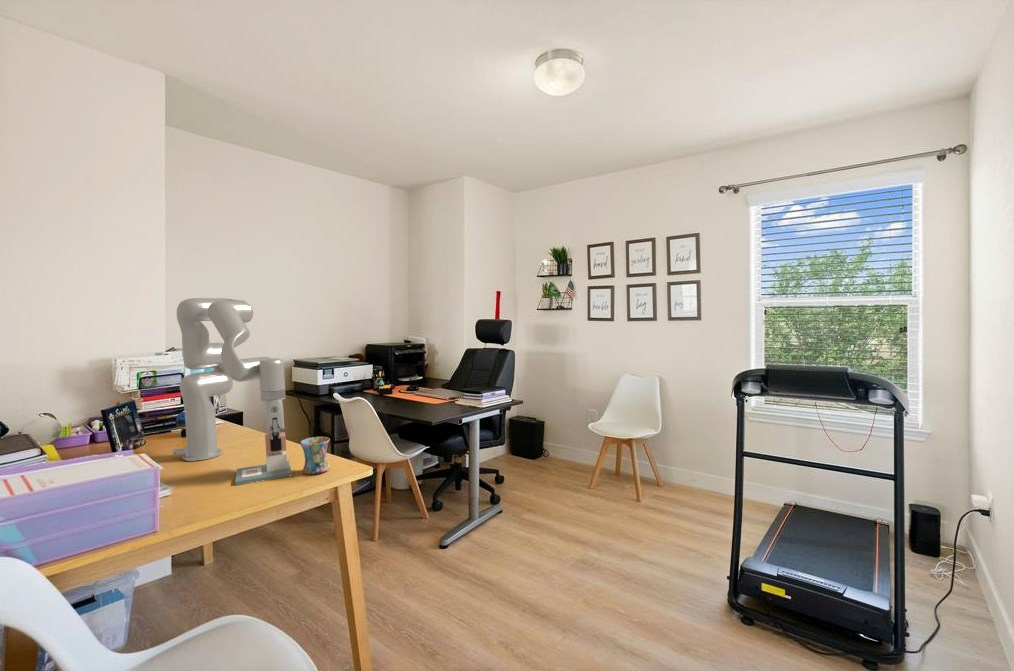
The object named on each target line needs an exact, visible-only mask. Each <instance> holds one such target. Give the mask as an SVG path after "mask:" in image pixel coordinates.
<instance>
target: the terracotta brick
mask: <svg viewBox="0 0 1014 671" xmlns="http://www.w3.org/2000/svg"><path fill="white" fill-rule="evenodd" d="M280 438H281V447H282V449H281V450H279V451H271V444H270V439H271V434H270V433H266V434H264V439H265V455H266V454H267V453H274V452H280V451H286V452H287V437H286V433H285V431H282V432H281V431H280Z"/></svg>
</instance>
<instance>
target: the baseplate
mask: <svg viewBox="0 0 1014 671" xmlns="http://www.w3.org/2000/svg"><path fill="white" fill-rule="evenodd" d="M265 455H266V456H265V458H266V461H265V462H266V464H260V465H259V464H258V465H252V466H246V467H241V468H236V473H235V486H240V484H242V485H246V484H245V483H248V484H251V483H250V482H254V483H257V482H256V481H259V482H263V481H262V480H265V481H269V480H268V479H271V480H275V479H274V478H277V479H281V478H280V477H283V478H286V477H285V476H289V477H291V476H290V475H292V474H293V472H292V469H291V464H290V461H289V460H288V458H287V450H286V451H280V452H274V453H267V454H266V453H265Z"/></svg>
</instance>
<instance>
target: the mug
mask: <svg viewBox="0 0 1014 671" xmlns="http://www.w3.org/2000/svg"><path fill="white" fill-rule="evenodd" d="M330 441H331V439H330V437H327V436H314V437H308V438H305V439H302V440H300V442H299V444H300V446H301V448H302V450H303V454H304V466H303V469H302V472H303V473H304V474H307V475H317V474H322V473H325V472H326V471H329V470H330V468H331V467H330V466H331V465H329V464H330V463H329V462H328V459H327V453H328V452H327V451H328V446H329V443H330Z"/></svg>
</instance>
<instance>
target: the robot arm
mask: <svg viewBox="0 0 1014 671" xmlns="http://www.w3.org/2000/svg"><path fill="white" fill-rule="evenodd" d="M253 317H254V310H253V307H252V306H251V304H250V303H249V302H247V301H245V300H243V299H242V300H240V299H235V298H234V299H232V298H226V297H225V298H224V297H223V298H222V297H219V298H214V297H212V298H211V297H193V298H187V299H184V300H182V301H180V302H179V303H178V304H177V308H176V319H177V324H178V326H179V328H180V332H181V345H182V360H183V364H184V366H185V368H186V369H189V370H194V371H195V370H206V369H213V370H212V371H203V372H195V373H194V372H193V373H191V374H187V375H186V376H184V377H182V378H181V380H180V382H179V390H180V394H181V397H182V401H183V408H184V420H185V438H186V446H183V447H182V448H173V449H172V455H176V456H178V455H182V460H183V461H185V460H186V461H185V462H197V461H198V460H199V461H204V460H210V459H213V458H216V457H219V456H220V455H222V454H223V450H222V449H221V448H218V442H217V441H218V440H217V439H218V438H217V423H216V410H215V405H213V403H212V402H211V401H210V400H209V399H208V398H210V397H215V396H221V395H226V394H228V393H230V392H231V390H232V389H233V384H234V381H236V382H238V383H240V382H250V381H256V380H257V381H258V380H259V393H260V402H264V409H265V418H266V419H265V420H266V425H267V430H268V431H269V434H271V439H270V444H271V451H279V450H281V449H282V447H281V438H280V433H281V430H285V417H284V416H285V415H284V414H285V413H284V404H283V400H286V381H285V380H286V379H285V362H284V360H283V359H282V358H280V357H279V358H275V357H274V358H273V357H267V356H259V357H257V356H256V357H248V358H240V357H239V356H238V354H237V353H236V351H235V348H236V347H238V346H240V345H242V344H243V343H245V342H246V341H247V340H248V339H249V338H250V335H251V332H250V330H249V328H248V326H247V325H246V324H247V323H250V321H252V319H253ZM203 322H212V324H213V325H214V327H215V328H216V330H217V332H218V334H219V335H220V337H221V338H222V340H223V342H210V333H209V330H208V328H207V327H206V325H205V324H204V323H203ZM199 461H198V462H199Z"/></svg>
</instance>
